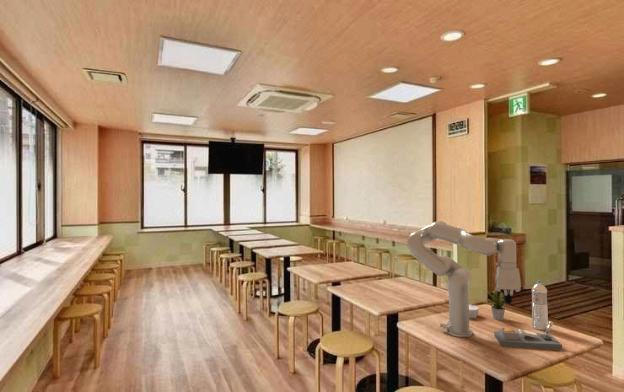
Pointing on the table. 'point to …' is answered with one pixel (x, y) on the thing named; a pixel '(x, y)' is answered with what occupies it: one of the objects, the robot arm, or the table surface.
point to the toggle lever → (548, 328)
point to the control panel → (526, 340)
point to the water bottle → (539, 307)
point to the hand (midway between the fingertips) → (507, 303)
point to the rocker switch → (527, 333)
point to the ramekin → (473, 311)
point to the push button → (508, 330)
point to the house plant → (497, 306)
